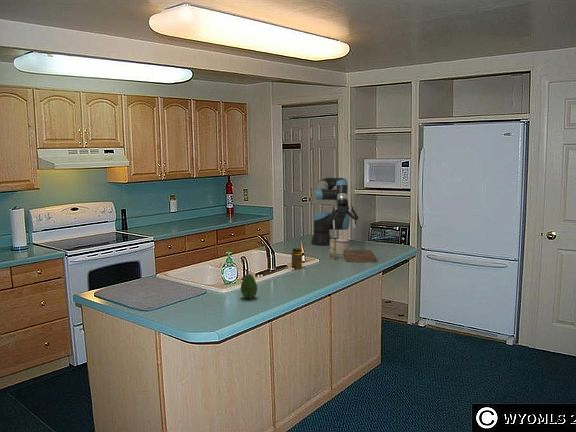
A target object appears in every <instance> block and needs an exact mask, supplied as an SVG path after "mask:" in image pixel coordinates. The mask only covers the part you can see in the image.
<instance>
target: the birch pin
mask: <svg viewBox="0 0 576 432" xmlns="http://www.w3.org/2000/svg"><path fill="white" fill-rule="evenodd" d="M336 239H337V238H331V239H330V245H329V260H332V261H335V260H336V249H335V247H336V243H335V241H336Z"/></svg>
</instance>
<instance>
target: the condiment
mask: <svg viewBox="0 0 576 432" xmlns="http://www.w3.org/2000/svg"><path fill="white" fill-rule="evenodd" d="M291 251H292V253H291V267H292V268H294V269H295V270H291V271H299V270H305V268H303V267H302V265H303V253H302V249H301V248H300V247H293V248H292V250H291Z"/></svg>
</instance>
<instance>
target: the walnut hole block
mask: <svg viewBox="0 0 576 432" xmlns="http://www.w3.org/2000/svg"><path fill="white" fill-rule="evenodd" d="M343 259H344V261H345V263H375V262H376V260H375V259H376V255H375V253H374V252H373V250H372V249H349V250H344V254H343Z"/></svg>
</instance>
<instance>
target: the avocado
mask: <svg viewBox="0 0 576 432" xmlns="http://www.w3.org/2000/svg"><path fill="white" fill-rule="evenodd" d="M240 293H241V295H242V296H243V297H244V298H246V299H253V298H254V297H255V298H256V295H257V293H258V284H257V282H256V280H255V278H254V275H253V274H251V273H247V274H245V275H244V276H243V278H242V281H241V284H240Z"/></svg>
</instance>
